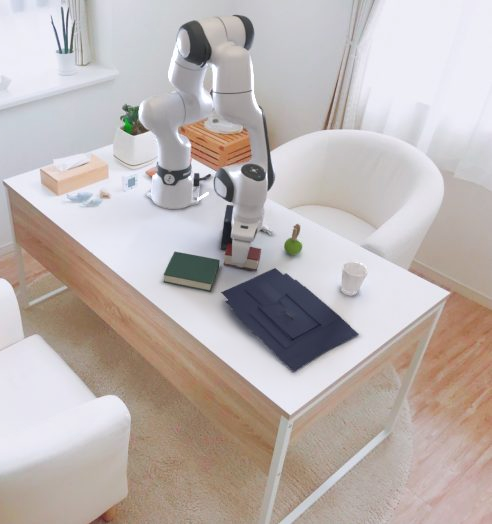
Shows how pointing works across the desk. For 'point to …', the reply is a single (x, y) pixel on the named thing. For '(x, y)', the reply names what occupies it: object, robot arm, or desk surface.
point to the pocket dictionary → (251, 259)
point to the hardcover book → (192, 271)
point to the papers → (288, 317)
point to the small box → (227, 227)
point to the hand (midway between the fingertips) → (242, 259)
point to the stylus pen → (266, 229)
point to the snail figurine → (293, 242)
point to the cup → (352, 277)
